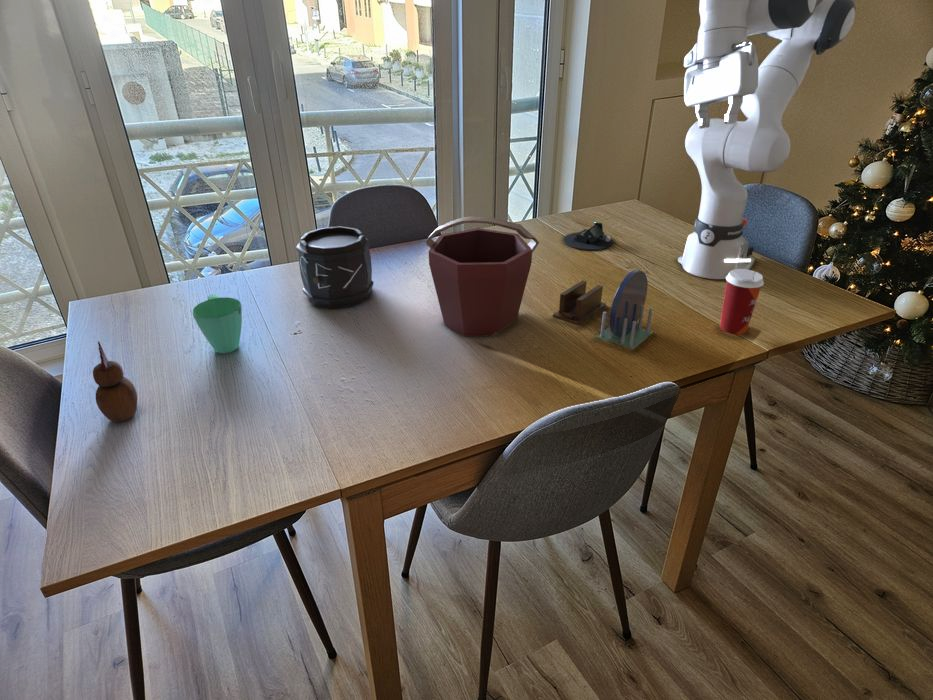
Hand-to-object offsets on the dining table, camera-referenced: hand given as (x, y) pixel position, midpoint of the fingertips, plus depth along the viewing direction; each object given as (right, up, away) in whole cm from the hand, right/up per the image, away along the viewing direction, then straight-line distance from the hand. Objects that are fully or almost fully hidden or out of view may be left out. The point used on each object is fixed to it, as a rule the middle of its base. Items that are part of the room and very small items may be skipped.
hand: (716, 126), depth 121 cm
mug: (-104, -43, +16) cm, 113 cm away
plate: (-14, -41, +16) cm, 46 cm away
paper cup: (+11, -40, +18) cm, 46 cm away
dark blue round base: (-12, -11, +68) cm, 70 cm away
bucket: (-46, -38, +24) cm, 64 cm away
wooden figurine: (-113, -57, -7) cm, 127 cm away
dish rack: (-14, -42, +16) cm, 47 cm away
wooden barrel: (-82, -30, +37) cm, 95 cm away
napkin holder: (-22, -36, +26) cm, 50 cm away
